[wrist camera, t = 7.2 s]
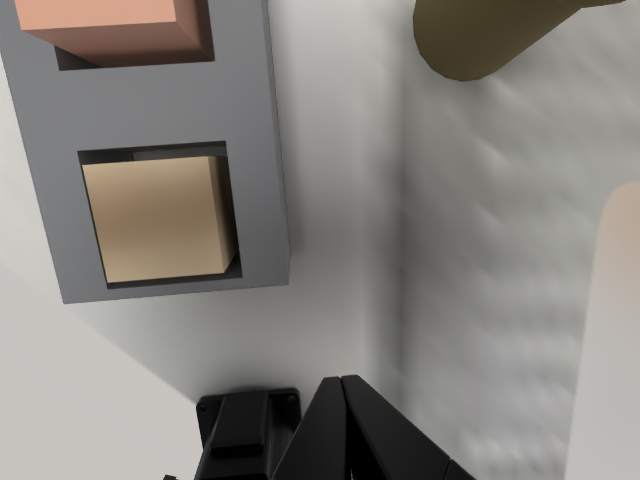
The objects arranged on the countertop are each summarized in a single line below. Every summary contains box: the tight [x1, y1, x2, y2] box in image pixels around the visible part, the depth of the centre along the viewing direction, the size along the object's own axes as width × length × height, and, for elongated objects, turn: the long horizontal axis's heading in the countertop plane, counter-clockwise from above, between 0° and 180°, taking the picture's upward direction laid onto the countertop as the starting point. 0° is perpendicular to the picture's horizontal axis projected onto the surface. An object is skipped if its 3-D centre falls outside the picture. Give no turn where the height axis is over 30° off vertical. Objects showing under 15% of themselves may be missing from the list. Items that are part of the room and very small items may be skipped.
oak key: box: [82, 156, 239, 283], centre depth 17 cm, size 5×5×6 cm
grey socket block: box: [0, 0, 291, 304], centre depth 17 cm, size 16×10×5 cm, turn 4°
